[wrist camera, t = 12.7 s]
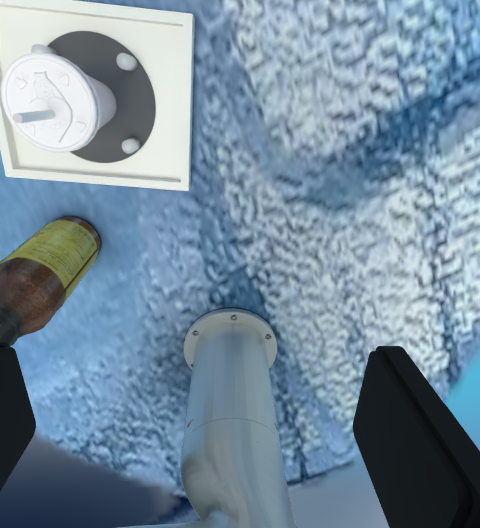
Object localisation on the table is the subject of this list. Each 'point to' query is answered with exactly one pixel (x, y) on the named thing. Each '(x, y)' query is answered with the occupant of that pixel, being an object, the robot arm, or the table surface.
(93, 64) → the pin tray
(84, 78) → the smoothie
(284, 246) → the table surface
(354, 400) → the table surface
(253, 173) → the table surface
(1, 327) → the sauce bottle
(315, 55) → the table surface
